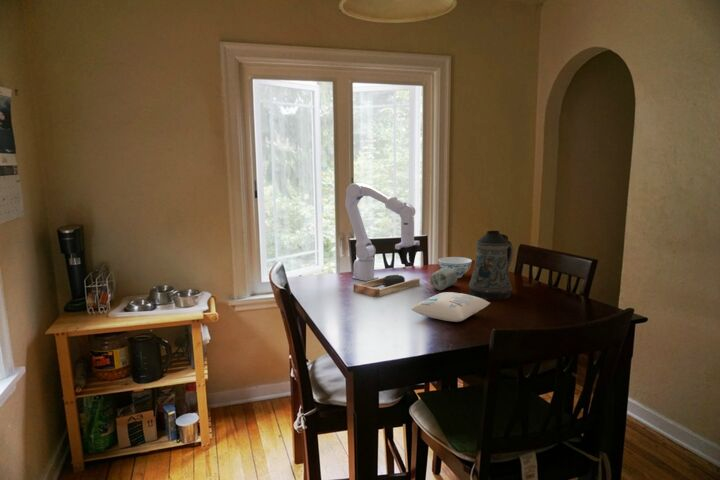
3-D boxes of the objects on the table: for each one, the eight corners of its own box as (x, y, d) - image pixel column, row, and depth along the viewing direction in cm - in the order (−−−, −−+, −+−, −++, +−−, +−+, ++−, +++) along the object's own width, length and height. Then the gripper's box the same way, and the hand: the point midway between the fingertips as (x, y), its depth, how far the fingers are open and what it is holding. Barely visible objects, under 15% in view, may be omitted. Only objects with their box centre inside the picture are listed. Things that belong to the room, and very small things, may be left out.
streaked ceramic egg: (447, 286, 180) (440, 262, 184) (428, 293, 186) (422, 270, 190) (465, 287, 190) (459, 265, 193) (447, 294, 196) (441, 272, 199)
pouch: (441, 284, 165) (411, 294, 150) (491, 294, 153) (463, 306, 138) (440, 305, 167) (410, 318, 151) (489, 317, 155) (462, 331, 139)
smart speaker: (403, 283, 200) (403, 274, 200) (406, 288, 192) (405, 279, 191) (383, 283, 200) (383, 274, 199) (385, 288, 191) (384, 279, 191)
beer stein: (463, 297, 176) (464, 233, 172) (475, 285, 193) (477, 227, 189) (507, 302, 168) (509, 235, 164) (516, 289, 185) (518, 229, 181)
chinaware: (472, 280, 201) (472, 263, 200) (437, 279, 204) (438, 263, 203) (470, 273, 216) (471, 257, 215) (438, 272, 219) (439, 256, 218)
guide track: (353, 291, 188) (353, 284, 188) (396, 279, 207) (396, 272, 206) (376, 297, 179) (376, 289, 178) (419, 284, 197) (419, 277, 197)
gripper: (403, 235, 191) (404, 267, 193) (425, 231, 201) (425, 261, 203) (391, 234, 196) (391, 264, 198) (412, 230, 206) (412, 259, 208)
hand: (407, 263), depth 201 cm, fingers open, 5 cm apart
